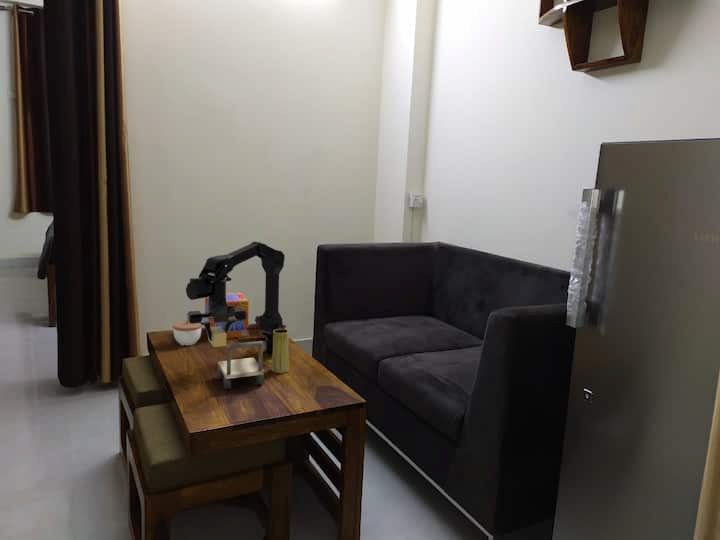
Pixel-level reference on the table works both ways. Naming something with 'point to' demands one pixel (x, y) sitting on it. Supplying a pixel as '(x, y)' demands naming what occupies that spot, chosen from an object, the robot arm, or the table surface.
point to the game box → (240, 325)
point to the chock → (217, 337)
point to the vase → (280, 351)
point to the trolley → (241, 365)
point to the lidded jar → (187, 332)
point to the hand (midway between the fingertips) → (217, 340)
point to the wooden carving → (256, 329)
